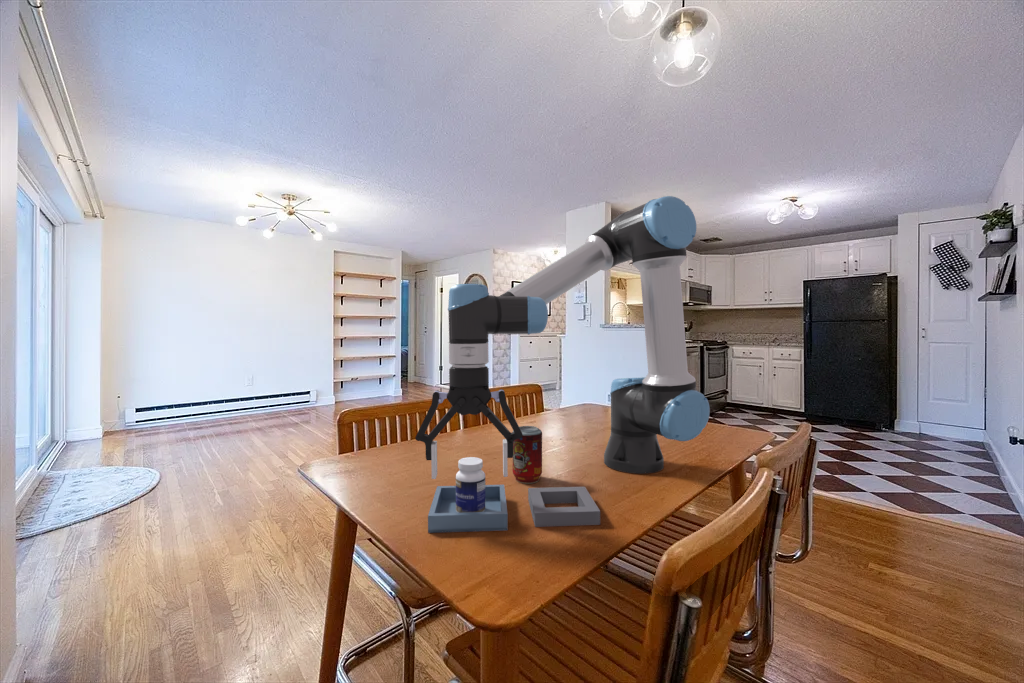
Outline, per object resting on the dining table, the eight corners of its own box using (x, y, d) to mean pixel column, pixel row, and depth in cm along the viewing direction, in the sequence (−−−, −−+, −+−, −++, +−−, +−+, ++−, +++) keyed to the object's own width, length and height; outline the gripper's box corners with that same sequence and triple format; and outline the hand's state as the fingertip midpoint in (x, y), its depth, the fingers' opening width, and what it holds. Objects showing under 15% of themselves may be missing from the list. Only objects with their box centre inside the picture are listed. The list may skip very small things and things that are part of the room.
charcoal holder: (584, 498, 88) (584, 486, 88) (600, 524, 76) (600, 511, 76) (528, 499, 88) (528, 488, 87) (534, 526, 76) (534, 513, 76)
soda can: (506, 481, 98) (507, 429, 98) (521, 472, 104) (521, 423, 104) (533, 487, 95) (534, 433, 94) (546, 477, 101) (547, 426, 101)
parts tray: (504, 498, 88) (504, 484, 88) (507, 530, 74) (507, 513, 74) (437, 500, 87) (437, 486, 87) (428, 532, 73) (427, 516, 73)
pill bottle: (449, 514, 80) (449, 462, 79) (466, 503, 85) (466, 454, 84) (475, 520, 77) (475, 466, 77) (491, 508, 82) (490, 458, 82)
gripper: (398, 368, 75) (400, 484, 76) (536, 366, 77) (536, 480, 78) (406, 364, 83) (408, 470, 84) (531, 363, 85) (532, 467, 85)
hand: (470, 475), depth 81 cm, fingers open, 13 cm apart
